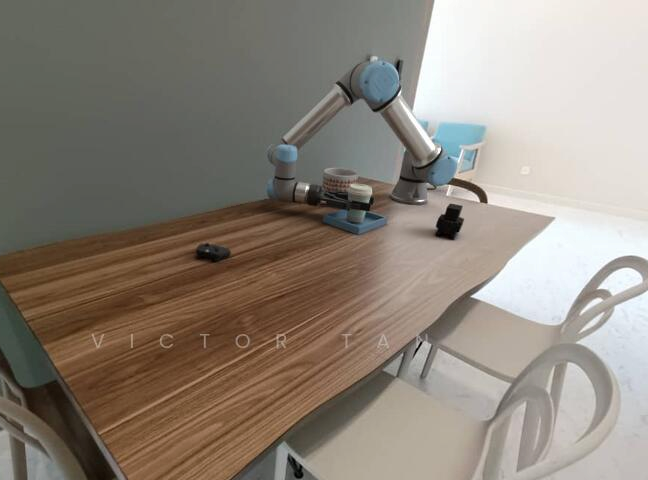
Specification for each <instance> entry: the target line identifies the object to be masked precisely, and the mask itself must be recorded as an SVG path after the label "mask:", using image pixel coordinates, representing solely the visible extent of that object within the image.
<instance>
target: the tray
mask: <svg viewBox="0 0 648 480" xmlns="http://www.w3.org/2000/svg"><path fill="white" fill-rule="evenodd" d="M322 216H323V217H322V223H324V224H328V225H330V226H333V227H336V228H338V229H341V230H344V231H347V232H349V233H352V234H355V235H357V236H359V235H361V234H364V233H367V232H370V231H373V230H376V229H378V228H380V227H383V226H386V225H387V222H388V216H385V215H381V214H378V213H375V212H372V211H370V212H368V211H366V213H365V216H364V220H363V222H359V223H357V222H351V221H349V220H347V210H343V209H339V210H335V211H333V212H329V213H326V214H325V213H324V214H323V215H322Z"/></svg>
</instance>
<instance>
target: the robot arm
mask: <svg viewBox="0 0 648 480" xmlns="http://www.w3.org/2000/svg"><path fill="white" fill-rule="evenodd" d="M332 86H333V87H332V90H331V91H330V92H328V94H326V96H324V97H323V99H321V100H320V101H319V102H318V103H317V104H316V105H315V106H314V107H313V108H312V109H311V110H310V111H309V112H308V113H307V114H306V115H304V116H303V117H302V118H301V119H300V120H299V121H298V122H296V124H295V125H294V126H293V127H292V128H291V129H290V130H289V131H288V132H287V133H286V134H284V136H283V137H281V138H280V139H279V140H278V141H277V142H274V143H272V144H270V145H269V146H268V147H267V150H266V157H267V160H268V161H269V163H270V164H271V165H273V166H274V177H271V178H270V179H269V180H268V181H267V187H266V194H267V197H268V198H269V199H271V200H275V201H279V202H287V203H294V204H298V205H299V206H302V205H308V206H311V207H318V206H319V205H320V206H321V207H322V206H323V207H329V208H335V209H339V210H342V209H343V210H347V211H350V208H351V209H356V210H362V211H368V212H371V207H372V206H373V205H374V201H375V197H374V196H371V197H370V200H369V203H365V202H359V201H353V200H352V203H351V201H348V192H345V191H336V190H331V189H329V191H322V185H320V184H313V183H312V184H311V183H308V182H300V181H296V173H297V172H296V171H297V162H298V161H297V160H298V152H299V150H300V149H301V148H303V147H304V146H305V145H306V144H307V143H308V142H309V141H310V140H311V139H312V138H314V136H315V135H317V134H318V133H319V132H320V131H321V130H322V129H324V127H325V126H327V125H328V123H330V122H331V121H332V120H333V119H334V118H335V117H336V116H337V115H338V114H339V113H341V112H342V111H343V110H344V109H345V108H346V107H348V108H349V107H351V106H353V104H354V103H356V102H358V101H359V100H363V101H364V103H366V105H367V106H368V107H369V108H370V110H371V111H372V112H373V113H375V114H376V113H379V114H380V115H381V117H382V118H383V120H384V121H385V123H387V125H388V127H389V128H390V129H391V130H392V132H393V133H394V134H395V136H396V137H397V139H398V140H399V142H400V143H401V144H402V146H403V147H404V148H405V149H404V152H403V157H402V162H401V167H400V172H399V177H398V180H397V182H396V184H395V186H394V187H393V189H392V191H391V194H390V199H392V200H394V201H395V202H399V203H402V204H407V205H423V204H426V203H427V201H428V191H435V190H436V189H437V187H443V186H445V185H447V184H448V183H449V182H450V181H452V180H453V178H454V176H455V175H456V172H457V170H458V162H457V159H456V158H455V157H453V156H452V155H450V154H448V153H447V152H446V150H444V148H443V147H442V145H441V143H439V142H434V141H433V140H432V138H431V137H430V136H429V134H428V132H427V131H426V129H425V128H424V127H423V125H422V124H421V122H420V120H419V119H418V118H417V117H416V115H415V113H414V112H413V110H412V109H411V107H410V106H409V105H408V103H407V102H406V100H405V99H404V97H403V95H402V90H403V86H402V85H401V84H400V77H399V73H398V70H397V68H396V67H395V66H394V65H393V64H391V63H389V62H387V61H384V60H370V61H369V60H364V61H363V60H362V61H360V62H358V63H356V64H355V65H353V66H352V67H351V68H349V69H348V71H347V72H345V73H344V74H343V75H342V76H341V77H340V78H339V79H338V80H337V81H336V82H335V83H334V84H333V85H332ZM428 184H429V186H432V187H428V186H427V185H428Z"/></svg>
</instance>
